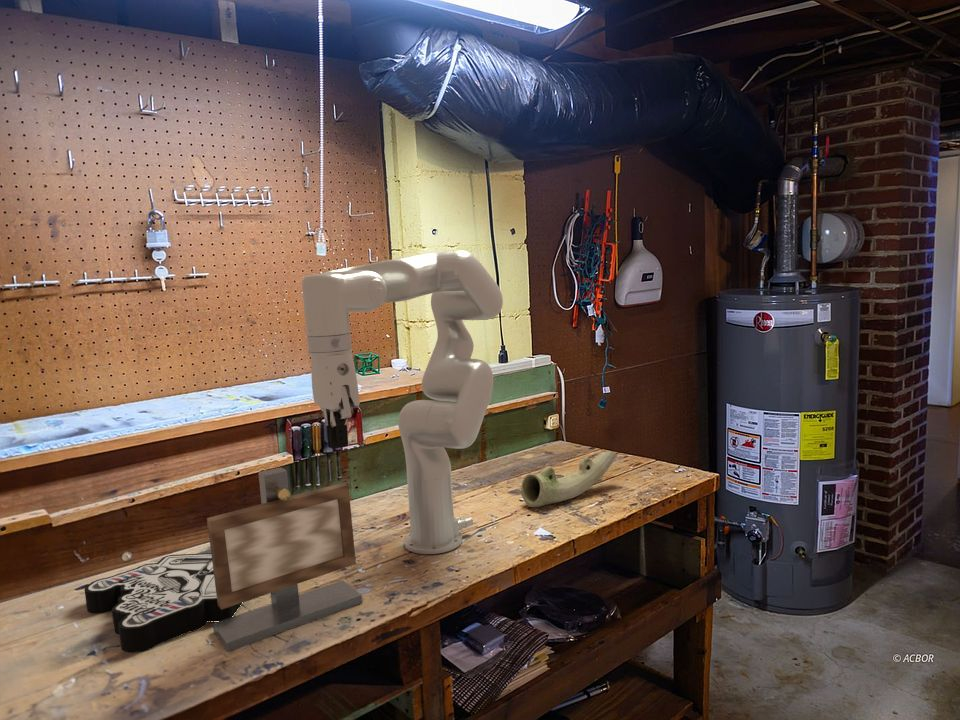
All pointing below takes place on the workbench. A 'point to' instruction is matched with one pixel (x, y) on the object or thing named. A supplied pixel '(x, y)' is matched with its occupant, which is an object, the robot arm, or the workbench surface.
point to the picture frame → (280, 543)
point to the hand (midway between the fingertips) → (338, 446)
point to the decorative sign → (159, 600)
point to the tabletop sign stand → (283, 592)
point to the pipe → (564, 481)
